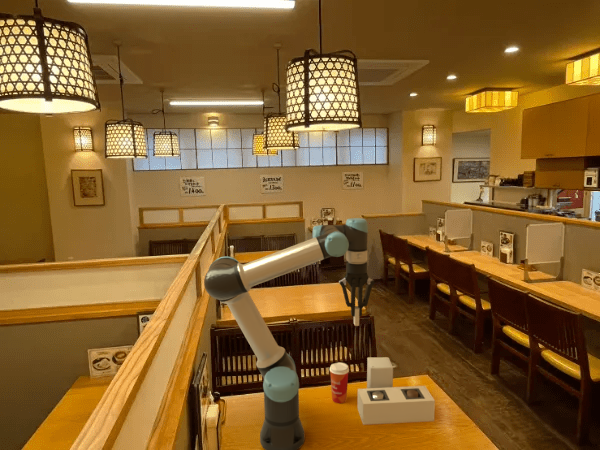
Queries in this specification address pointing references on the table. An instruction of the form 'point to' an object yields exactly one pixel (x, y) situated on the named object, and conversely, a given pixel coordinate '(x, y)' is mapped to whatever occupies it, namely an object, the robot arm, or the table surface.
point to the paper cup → (339, 382)
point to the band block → (395, 405)
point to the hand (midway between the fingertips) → (356, 324)
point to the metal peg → (377, 395)
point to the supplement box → (379, 372)
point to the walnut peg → (412, 394)
